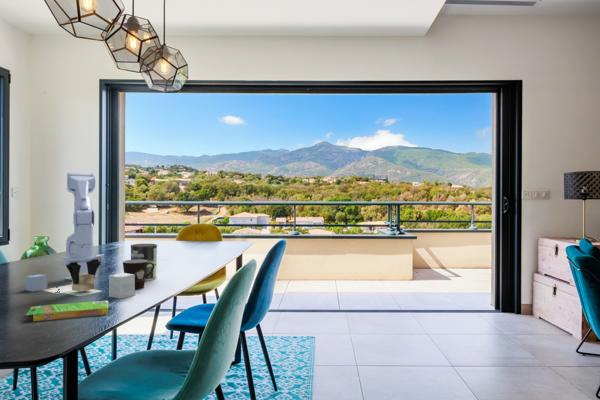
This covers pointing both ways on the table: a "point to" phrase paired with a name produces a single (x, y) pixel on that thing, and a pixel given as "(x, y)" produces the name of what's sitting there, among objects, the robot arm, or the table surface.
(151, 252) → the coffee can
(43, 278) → the cube
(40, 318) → the game box
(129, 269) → the coffee mug
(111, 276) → the skincare box
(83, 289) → the block
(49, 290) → the letter
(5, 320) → the table surface
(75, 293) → the mat
